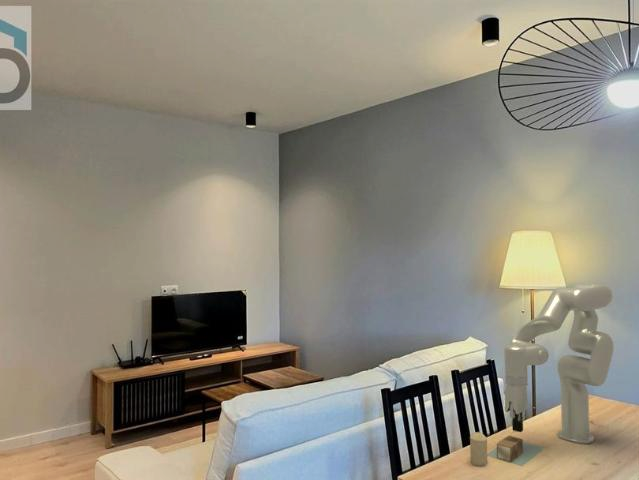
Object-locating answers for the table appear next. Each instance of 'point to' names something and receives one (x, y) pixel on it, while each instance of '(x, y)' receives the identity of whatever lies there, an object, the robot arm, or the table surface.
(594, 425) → the table surface
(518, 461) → the mat
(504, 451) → the block
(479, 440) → the candle
